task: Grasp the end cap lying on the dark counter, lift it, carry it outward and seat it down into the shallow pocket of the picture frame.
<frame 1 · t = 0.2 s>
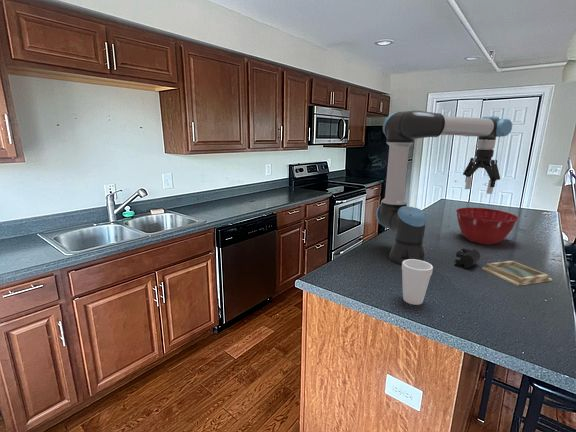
hand: (477, 191, 162), 28 cm above the counter, fingers open, 13 cm apart
foam cup: (412, 300, 108), on the counter
picture frame: (515, 274, 130), on the counter
mixing bowl: (481, 241, 173), on the counter
end cap: (466, 266, 139), on the counter
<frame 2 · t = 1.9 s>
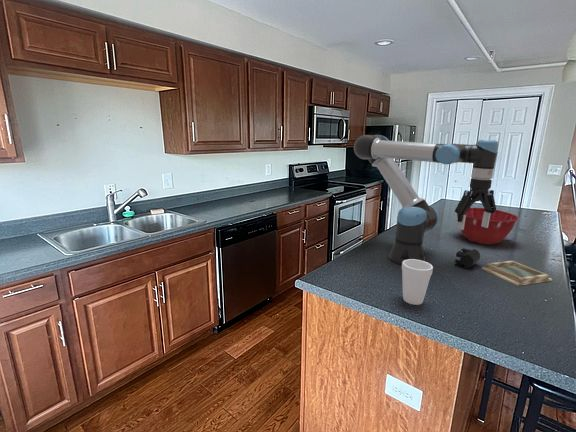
hand: (472, 228, 135), 17 cm above the counter, fingers open, 13 cm apart
nothing on the counter moved.
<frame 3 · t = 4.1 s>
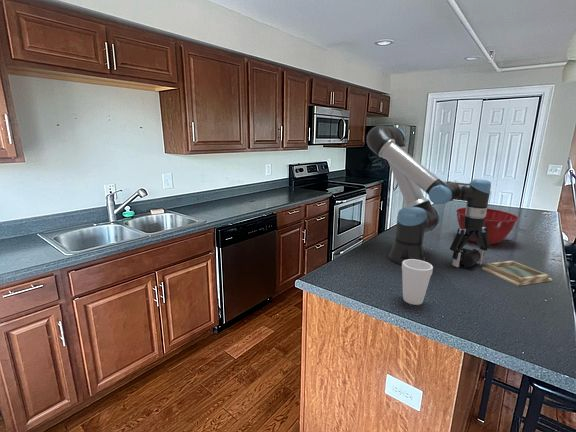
hand: (466, 264, 139), 0 cm above the counter, fingers closed on end cap, 12 cm apart
end cap: (466, 265, 139), on the counter, touching gripper
everything else where it was.
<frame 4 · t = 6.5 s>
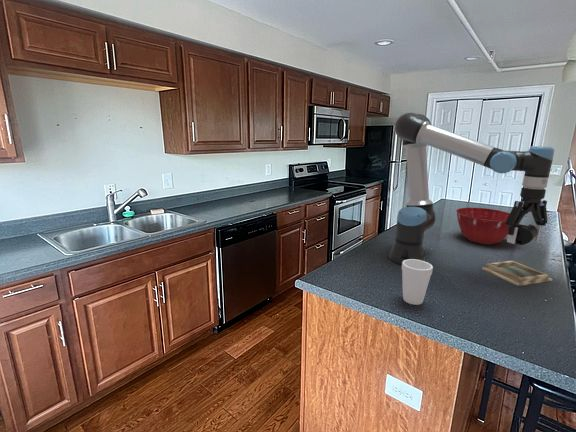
hand: (522, 241, 126), 14 cm above the counter, fingers closed on end cap, 12 cm apart
end cap: (522, 242, 126), point 14 cm above the counter, touching gripper
everything else where it was.
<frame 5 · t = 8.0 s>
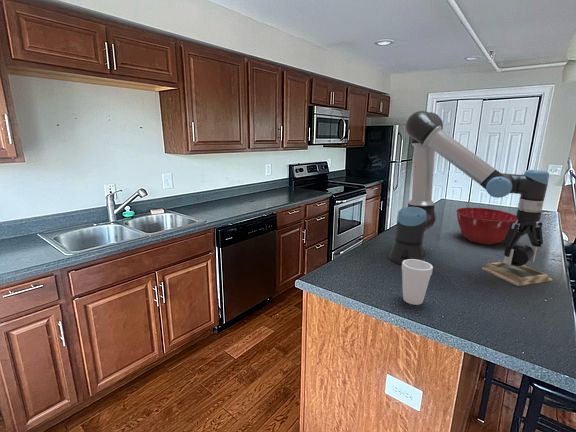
hand: (518, 262, 128), 6 cm above the counter, fingers closed on end cap, 12 cm apart
end cap: (518, 263, 129), point 5 cm above the counter, touching gripper
everything else where it was.
when the fingers open (4 cm above the counter, at t = 9.0 s): end cap drops 2 cm, resting on picture frame.
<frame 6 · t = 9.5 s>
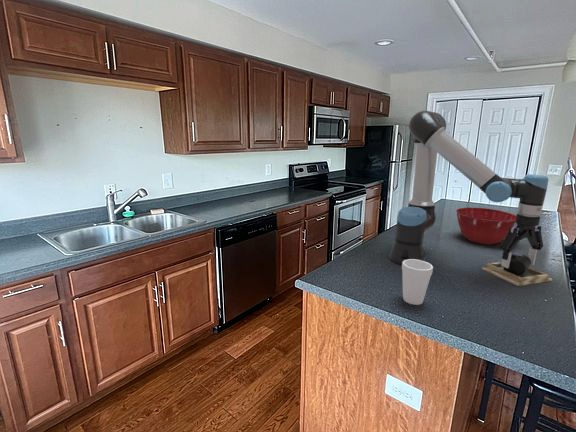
hand: (517, 265, 129), 4 cm above the counter, fingers open, 13 cm apart
end cap: (515, 273, 130), point 1 cm above the counter, touching picture frame
everything else where it was.
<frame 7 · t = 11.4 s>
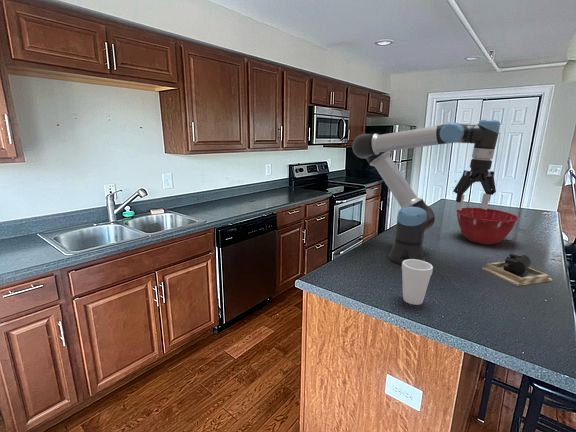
hand: (471, 209, 136), 24 cm above the counter, fingers open, 13 cm apart
nothing on the counter moved.
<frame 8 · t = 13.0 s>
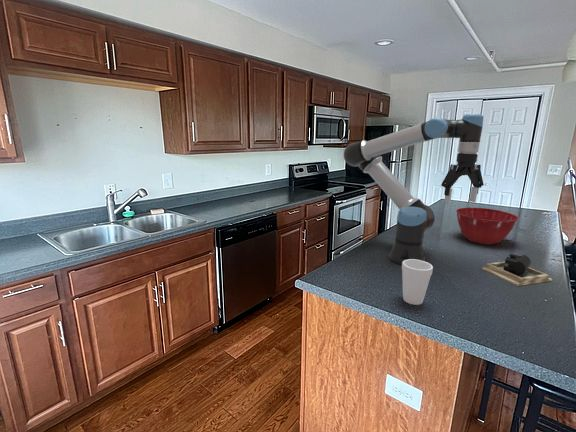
hand: (459, 202, 138), 27 cm above the counter, fingers open, 13 cm apart
nothing on the counter moved.
at the end: end cap inside the target area on the picture frame (0.1 cm from its centre), point 0.8 cm above the picture frame's base; the gripper is holding nothing; end cap touching picture frame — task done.
